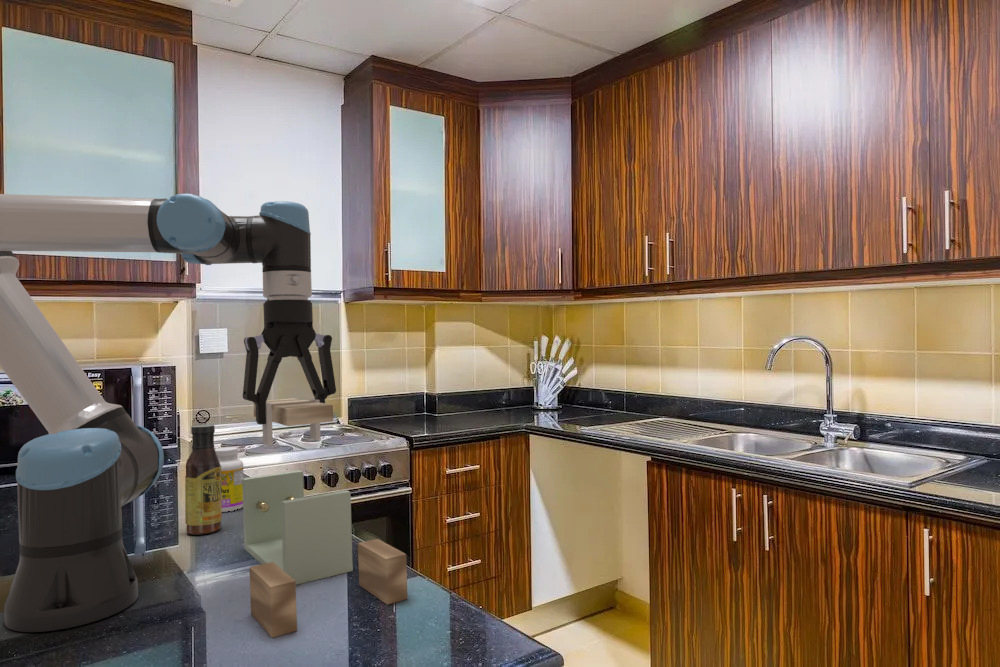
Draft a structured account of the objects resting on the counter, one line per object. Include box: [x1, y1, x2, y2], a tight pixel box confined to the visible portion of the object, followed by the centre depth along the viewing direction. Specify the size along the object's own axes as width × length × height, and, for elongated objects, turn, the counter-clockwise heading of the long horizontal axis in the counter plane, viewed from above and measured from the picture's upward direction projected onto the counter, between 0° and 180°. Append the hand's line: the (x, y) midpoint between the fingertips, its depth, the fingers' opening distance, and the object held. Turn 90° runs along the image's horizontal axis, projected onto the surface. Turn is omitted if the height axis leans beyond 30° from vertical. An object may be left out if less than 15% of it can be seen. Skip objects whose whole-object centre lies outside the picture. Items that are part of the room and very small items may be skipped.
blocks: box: [249, 538, 408, 638], centre depth 87 cm, size 18×9×6 cm, turn 126°
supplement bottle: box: [214, 446, 244, 513], centre depth 141 cm, size 7×7×13 cm
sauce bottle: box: [184, 424, 223, 536], centre depth 125 cm, size 7×6×20 cm
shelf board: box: [253, 398, 334, 427], centre depth 107 cm, size 18×7×2 cm, turn 35°
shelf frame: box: [242, 469, 354, 586], centre depth 107 cm, size 23×10×12 cm, turn 36°
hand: (292, 441), depth 107 cm, fingers closed on shelf board, 7 cm apart
